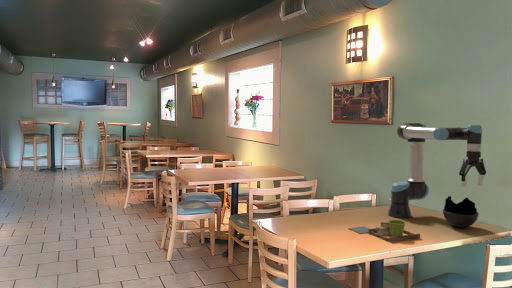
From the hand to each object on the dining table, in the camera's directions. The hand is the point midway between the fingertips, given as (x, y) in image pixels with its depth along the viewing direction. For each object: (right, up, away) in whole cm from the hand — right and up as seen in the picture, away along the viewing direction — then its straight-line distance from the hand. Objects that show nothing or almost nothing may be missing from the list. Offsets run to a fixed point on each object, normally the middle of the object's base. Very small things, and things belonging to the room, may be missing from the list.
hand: (472, 186), depth 242 cm
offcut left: (-55, -28, -4) cm, 62 cm away
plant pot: (-49, -28, -10) cm, 57 cm away
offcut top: (-52, -24, -2) cm, 57 cm away
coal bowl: (-1, -27, +12) cm, 30 cm away
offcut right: (-49, -28, -1) cm, 56 cm away
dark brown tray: (-50, -28, -8) cm, 57 cm away
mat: (-65, -27, +3) cm, 70 cm away
